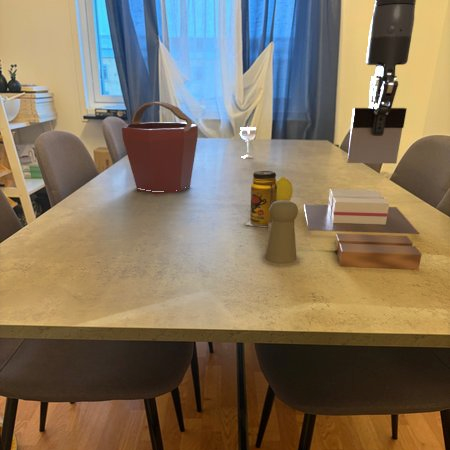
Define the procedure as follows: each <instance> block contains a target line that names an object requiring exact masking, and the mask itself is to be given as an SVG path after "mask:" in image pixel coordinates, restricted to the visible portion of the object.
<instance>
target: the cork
mask: <svg viewBox="0 0 450 450" xmlns="http://www.w3.org/2000/svg"><path fill="white" fill-rule="evenodd" d="M298 214H299V209H298V206H297V204H296V202H294V201H291V200H290V201H285V200H282V201H276V202H274V203H272V205H271V206H270V216H271V218H272V222H270V223H271V224H270V229H269V234H268V240H267V245H266V252H265V257H264V259H265V260H266V261H268V262H271V263H274V264H283V265H284V264H291V263H294V262H295V261H296V260H297V247H296V229H295V220H296V218H297V217H298Z"/></svg>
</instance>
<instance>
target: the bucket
mask: <svg viewBox="0 0 450 450" xmlns="http://www.w3.org/2000/svg"><path fill="white" fill-rule="evenodd" d="M153 105H157V106H159V107H162V108H164V109H167V110H169V111H170V112H171V113H172V114H173V115H174V116H175V117H176V118H177V119H179V120H181V122H179V121H175V122H174V121H172V122H171V121H165V122H164V121H149V122H141V120H142V117H143V116H144V113H145V112H146V111H147V110H148V109H149V108H150V107H152V106H153ZM182 121H185V122H182ZM198 127H199V126H198V124H195V123H194V124H193V121H192V119H191V118H190V117H189V116H188V115H187V114H186V113H185V112H183V111H182V110H181V109H180V107H178V106H176V105H173V104H170V103H169V102H164V101H150V102H148V101H147V102H144V103H143V104H141V105H140V106H139V107H138V108H137V109H136V110H135V111H134V114H133V116H132V119H131V123H126V124H124V125H122V126H121V132H122V133H121V134H122V141H123V144H124V148H125V151H126V155H127V158H128V162H129V165H130V169H131V172H132V176H133V179H134V183H135V186H136V191H137V192H140V193H147V194H153V195H162V194H174V193H176V194H177V193H181V192H184V191H185V190H188V189H189V188H191V183H192V176H193V170H194V164H195V156H196V150H197V144H198V137H199V128H198ZM185 187H186V188H185ZM137 188H141V189H145V190H140V189H137ZM146 190H151V191H146ZM176 190H177V191H176ZM152 191H164V192H152Z"/></svg>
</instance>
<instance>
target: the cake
mask: <svg viewBox="0 0 450 450" xmlns="http://www.w3.org/2000/svg"><path fill="white" fill-rule="evenodd" d="M333 198H366V199H385V196H384V195H383V194H382V193H381V191H380V190H378V189H377V190H375V189H374V190H373V189H370V190H369V189H337V188H336V189H333V188H330V189H329V194H328V204H327V205H328V210H329V213H330V216H332V207H333Z"/></svg>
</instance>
